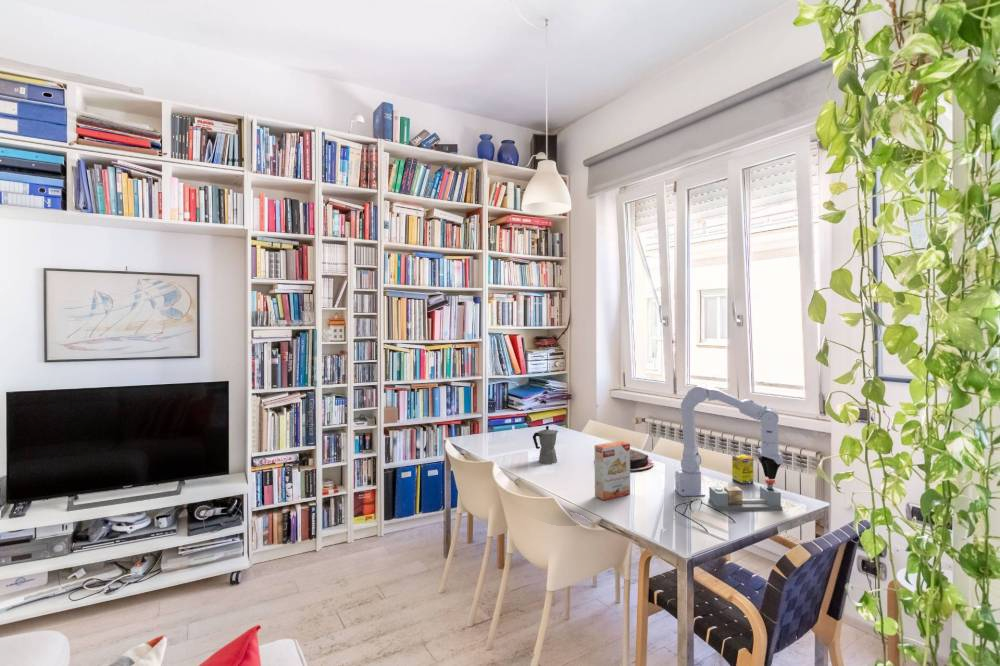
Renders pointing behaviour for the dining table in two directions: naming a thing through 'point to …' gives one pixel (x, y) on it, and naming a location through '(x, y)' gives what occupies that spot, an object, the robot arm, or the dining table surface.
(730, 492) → the carriage
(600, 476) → the cracker box
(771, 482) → the gauge plunger
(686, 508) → the glasses
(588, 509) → the dining table surface
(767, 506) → the rail bench
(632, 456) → the chocolate cake
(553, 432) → the coffeepot
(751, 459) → the supplement box
